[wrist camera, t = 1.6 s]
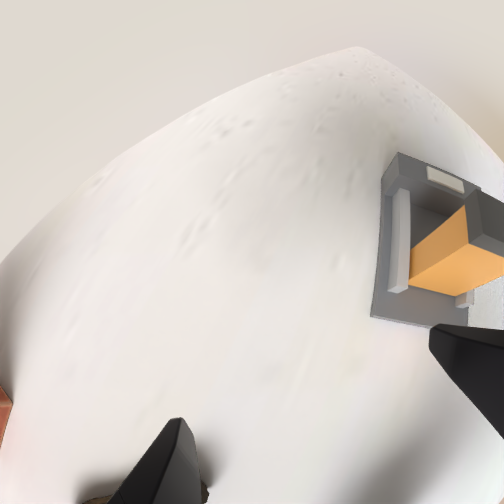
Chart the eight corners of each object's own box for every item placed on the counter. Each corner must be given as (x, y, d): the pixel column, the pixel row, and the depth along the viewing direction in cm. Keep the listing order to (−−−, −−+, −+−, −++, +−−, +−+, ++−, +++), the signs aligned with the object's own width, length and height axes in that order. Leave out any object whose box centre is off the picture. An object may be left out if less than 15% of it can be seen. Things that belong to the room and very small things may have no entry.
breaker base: (461, 333, 23) (492, 326, 18) (370, 316, 24) (395, 306, 19) (459, 207, 28) (482, 186, 23) (381, 178, 29) (398, 150, 24)
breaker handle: (456, 298, 23) (539, 260, 12) (400, 284, 24) (483, 233, 12) (456, 268, 24) (532, 220, 13) (403, 252, 25) (475, 188, 14)
